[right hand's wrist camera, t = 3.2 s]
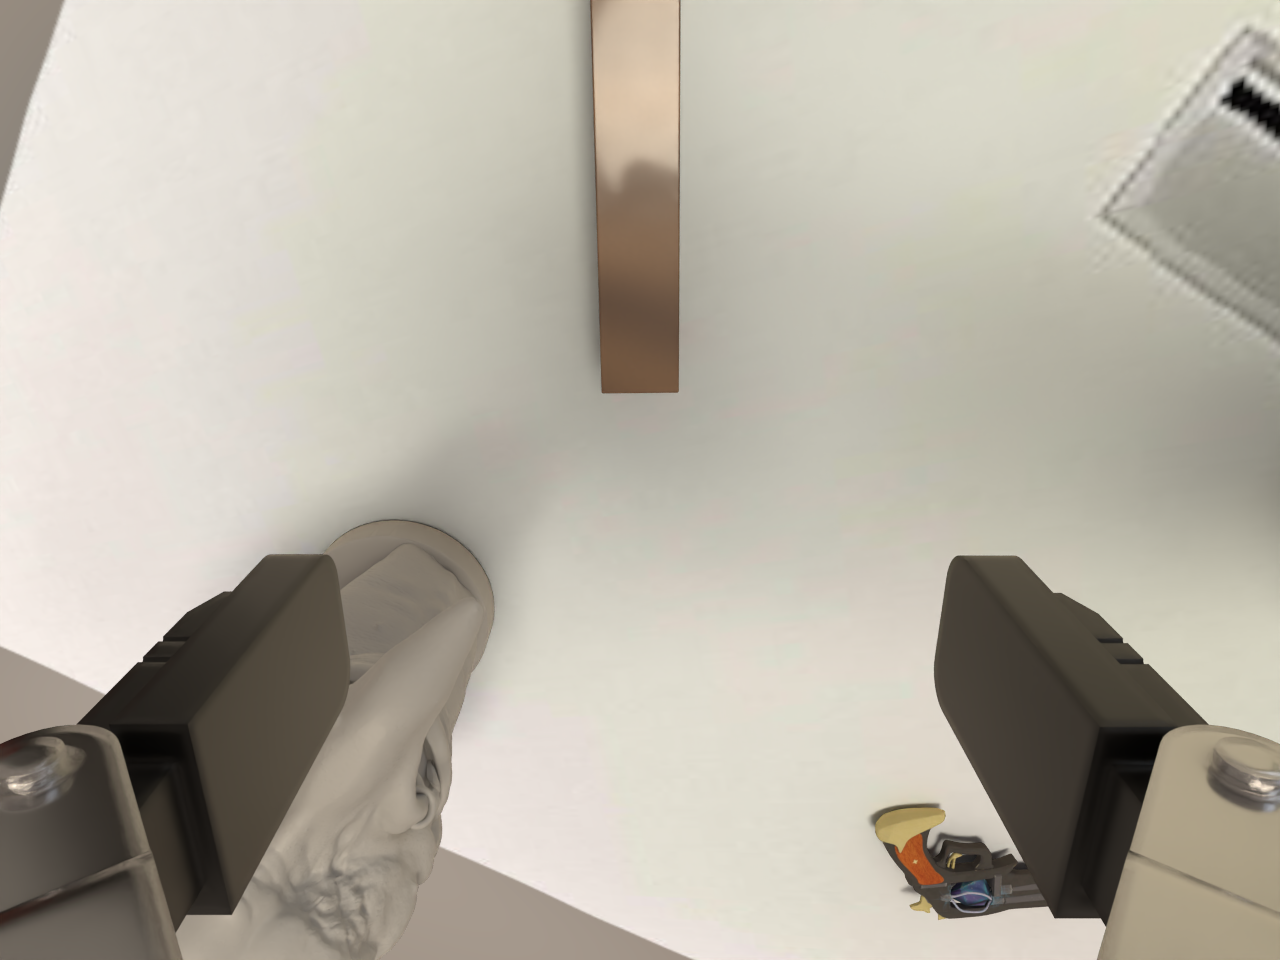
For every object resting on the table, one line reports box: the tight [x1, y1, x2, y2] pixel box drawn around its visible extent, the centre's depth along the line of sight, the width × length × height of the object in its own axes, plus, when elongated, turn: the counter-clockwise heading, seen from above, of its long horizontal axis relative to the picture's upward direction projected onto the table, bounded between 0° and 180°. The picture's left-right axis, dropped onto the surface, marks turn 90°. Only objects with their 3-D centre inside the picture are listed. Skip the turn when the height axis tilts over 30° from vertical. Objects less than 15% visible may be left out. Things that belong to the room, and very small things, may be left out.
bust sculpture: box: [176, 520, 494, 960], centre depth 41 cm, size 16×24×35 cm, turn 131°
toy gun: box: [875, 808, 1048, 920], centre depth 66 cm, size 3×19×10 cm
